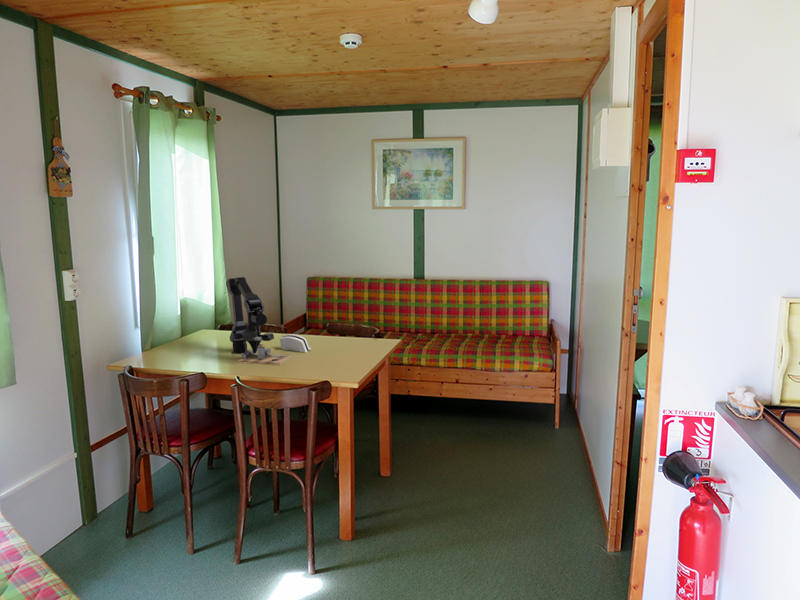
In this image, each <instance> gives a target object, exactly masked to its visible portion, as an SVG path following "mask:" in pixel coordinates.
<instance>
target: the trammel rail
mask: <svg viewBox="0 0 800 600" xmlns="http://www.w3.org/2000/svg"><path fill="white" fill-rule="evenodd" d="M247 350H248V351H246V352H245V353H243V354H241V355H242V356H241V358H242V359H247V358H248V356H254V357H258V353H254V352H253V350H252V349H247ZM270 354H271V353H270ZM270 354H268V355H265V357H271V358H285V355H286V354H272V355H270Z"/></svg>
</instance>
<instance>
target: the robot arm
mask: <svg viewBox="0 0 800 600" xmlns="http://www.w3.org/2000/svg"><path fill="white" fill-rule="evenodd" d="M225 282H226V283H225V286H226V288H227V291H228V293H229V294H230V295H231V301H232V311H233V312H232V313H233V321H234V323H233V326H232V328H231V333H230V336H229V341H230V342H231V343H232V351H231V354H238V353H245V352H246V351H248V350H249V349H248V344H249V345H250V348H251V350H253V352H254V353H255V354H257V353H258V347H259V344H261V342H262V341H263V342H269V341H273V340H274V339H275V335H274V334H273V333H271V332H266V333H264V334H262V331H261V327H263V326H265V325H266V324H267V321H268V318H267V316H266V315H265V314H263V313H264V311H265V306H264V303H263V302H262V300H261V298H260V297H259V296H258V294H256V293H254V292H253V291H252V288H250V285H249V284H248V282H247V278H246V277H244V276H239V277H232V278H231V277H230V278H227V280H226V281H225ZM242 297H243V299H244V301H242ZM242 303H243V304H244V305H243V304H242ZM243 306H244V308H245V310H246V316H247V324H246V322H245V321H244V313H243Z"/></svg>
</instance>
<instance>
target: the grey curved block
mask: <svg viewBox="0 0 800 600" xmlns="http://www.w3.org/2000/svg"><path fill="white" fill-rule="evenodd" d="M279 343H280V349H281V350H284V351H290V350H291V352H292V351H293V352H298V351H299V352H300V353H305V352H306V353H308V351H309V350H311V351H312V349H311V347H310V346H309V344H308V341H307V338H305V337H303V336H301V335H297V334H291V333H289V334H285V335H283V336H281V337H280V339H279ZM299 352H298V353H299Z"/></svg>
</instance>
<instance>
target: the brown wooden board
mask: <svg viewBox="0 0 800 600" xmlns="http://www.w3.org/2000/svg"><path fill="white" fill-rule="evenodd" d="M270 355H273V354H271V353H270ZM284 355H285V358H271V357H265V358H264V359H263V360H261V359H258V357H254V356H248V358H247V359H242V357H241V358H240V359H238V360H237V363H238V362H247V363H246V364H252V363H259V364H258V365H268V364H272V365H271V366H281V365H282V364H283V362H284V363H285V362H287V361H288V360H290V359H292V358H291V357H292V356H291V355H290V354H289V355H288V354H287V355H286V354H284ZM289 358H290V359H289ZM286 360H287V361H286Z"/></svg>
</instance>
